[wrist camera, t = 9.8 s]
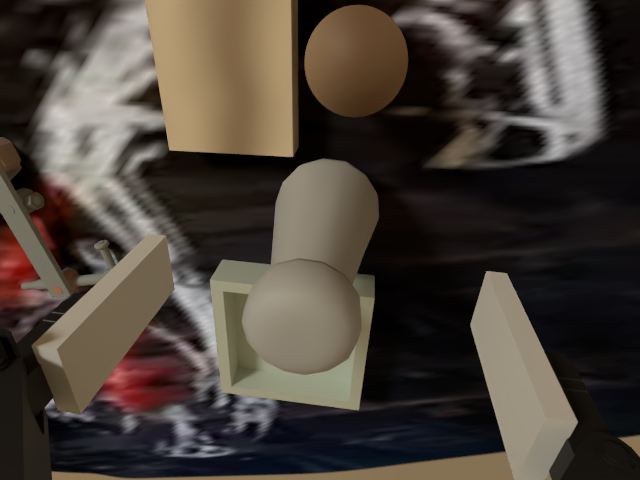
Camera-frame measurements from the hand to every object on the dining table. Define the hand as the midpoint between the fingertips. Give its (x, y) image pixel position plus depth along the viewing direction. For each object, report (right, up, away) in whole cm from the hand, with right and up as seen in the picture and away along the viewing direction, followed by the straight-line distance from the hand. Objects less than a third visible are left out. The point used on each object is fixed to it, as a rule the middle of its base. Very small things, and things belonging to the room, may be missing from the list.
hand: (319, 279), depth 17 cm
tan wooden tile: (-5, +12, +5) cm, 14 cm away
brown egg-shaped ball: (+2, +11, +4) cm, 12 cm away
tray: (-2, -5, +14) cm, 15 cm away
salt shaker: (+1, +5, +8) cm, 10 cm away
